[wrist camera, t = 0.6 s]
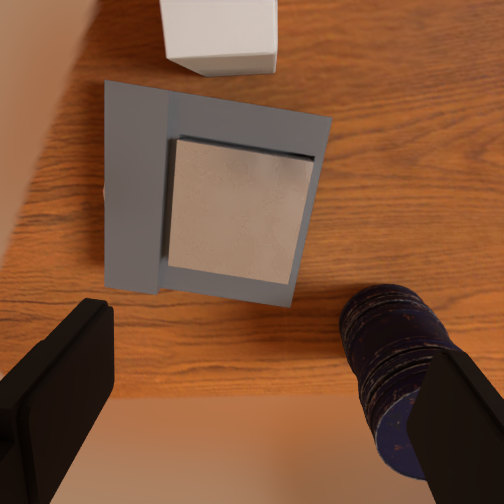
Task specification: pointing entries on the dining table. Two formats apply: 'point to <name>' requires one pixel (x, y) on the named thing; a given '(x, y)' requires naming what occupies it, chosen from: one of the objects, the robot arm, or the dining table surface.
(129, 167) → the scale
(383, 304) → the navy cylindrical canister
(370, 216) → the dining table surface
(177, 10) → the small box
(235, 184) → the pan
